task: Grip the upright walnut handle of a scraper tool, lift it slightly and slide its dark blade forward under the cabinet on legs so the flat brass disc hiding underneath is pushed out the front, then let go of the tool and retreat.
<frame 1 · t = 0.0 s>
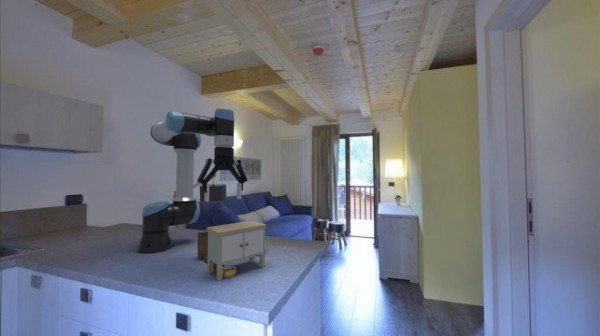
hand: (223, 200, 97), 28 cm above the worktop, fingers open, 13 cm apart
cabinet: (236, 269, 98), on the worktop
token: (228, 275, 92), on the worktop
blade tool: (203, 258, 110), on the worktop
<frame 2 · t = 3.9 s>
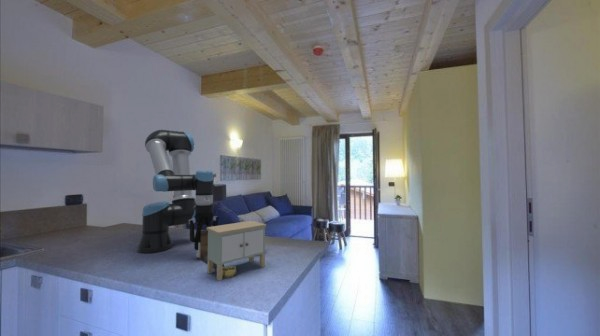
hand: (203, 255, 110), 1 cm above the worktop, fingers closed on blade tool, 4 cm apart
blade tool: (203, 258, 110), on the worktop, touching gripper
everything else where it was.
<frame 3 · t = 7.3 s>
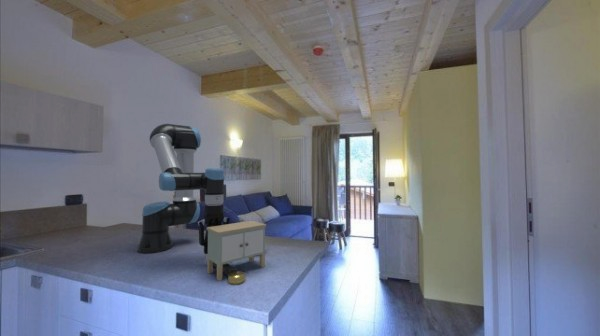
hand: (213, 259, 102), 2 cm above the worktop, fingers closed on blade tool, 4 cm apart
token: (236, 281, 87), on the worktop
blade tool: (213, 262, 102), point 1 cm above the worktop, touching gripper
everything else where it was.
when the fingers open (2 cm above the worktop, at t = 9.3 s): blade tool stays where it is, on the worktop.
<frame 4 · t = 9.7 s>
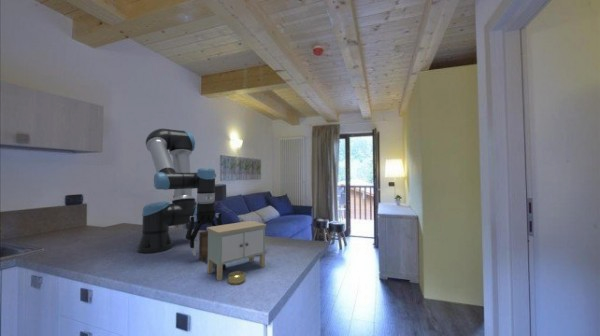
hand: (205, 252, 109), 3 cm above the worktop, fingers open, 9 cm apart
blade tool: (205, 259, 109), on the worktop
everything else where it was.
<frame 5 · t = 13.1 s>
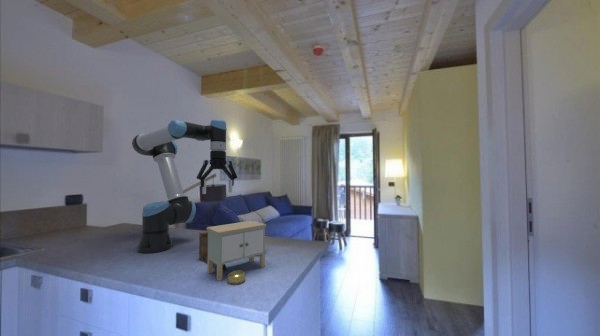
hand: (217, 193, 122), 29 cm above the worktop, fingers open, 13 cm apart
nothing on the worktop moved.
at the end: token inside the target area (9.2 cm from its centre), on the worktop; the gripper is holding nothing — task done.
